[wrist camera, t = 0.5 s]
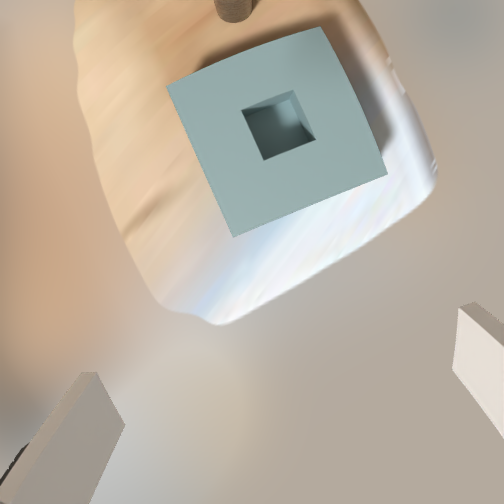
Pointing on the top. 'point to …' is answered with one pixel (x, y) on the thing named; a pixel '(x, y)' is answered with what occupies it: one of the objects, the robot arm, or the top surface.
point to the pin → (233, 10)
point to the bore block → (277, 129)
